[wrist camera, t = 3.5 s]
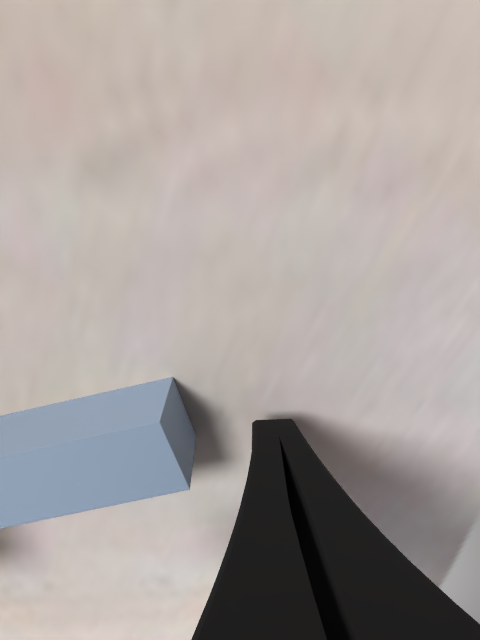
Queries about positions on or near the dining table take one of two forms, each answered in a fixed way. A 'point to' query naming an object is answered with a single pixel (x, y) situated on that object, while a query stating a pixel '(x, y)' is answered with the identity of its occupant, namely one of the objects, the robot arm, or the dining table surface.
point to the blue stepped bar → (94, 452)
